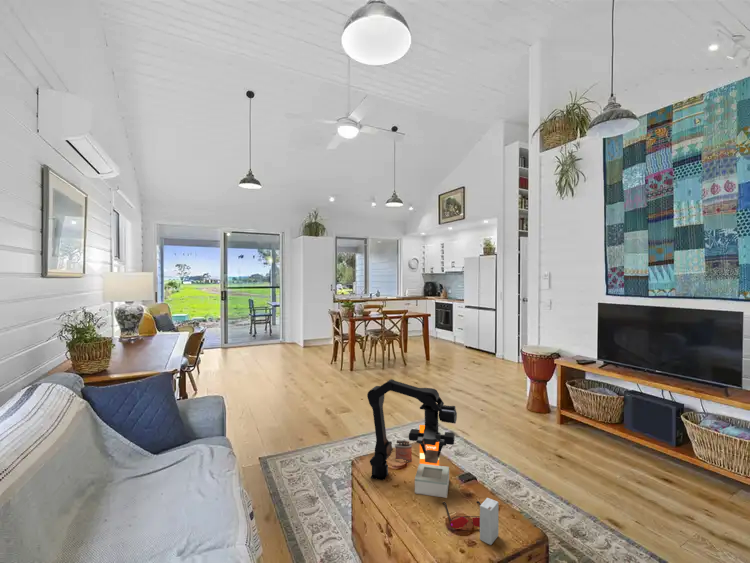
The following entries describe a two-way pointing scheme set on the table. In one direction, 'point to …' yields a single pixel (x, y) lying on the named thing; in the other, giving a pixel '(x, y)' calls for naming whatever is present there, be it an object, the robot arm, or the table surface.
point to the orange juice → (428, 447)
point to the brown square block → (431, 456)
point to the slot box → (432, 480)
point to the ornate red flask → (404, 450)
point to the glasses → (463, 520)
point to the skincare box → (489, 521)
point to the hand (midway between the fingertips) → (431, 456)
